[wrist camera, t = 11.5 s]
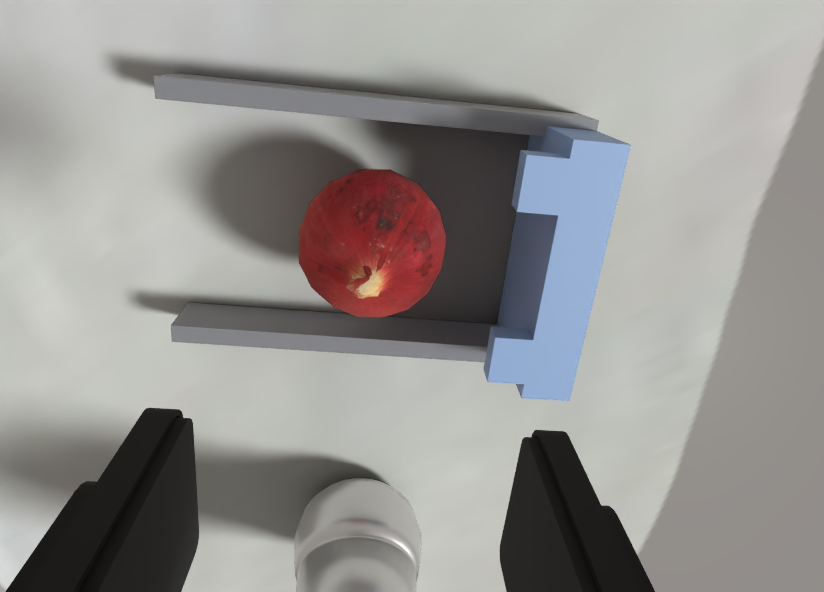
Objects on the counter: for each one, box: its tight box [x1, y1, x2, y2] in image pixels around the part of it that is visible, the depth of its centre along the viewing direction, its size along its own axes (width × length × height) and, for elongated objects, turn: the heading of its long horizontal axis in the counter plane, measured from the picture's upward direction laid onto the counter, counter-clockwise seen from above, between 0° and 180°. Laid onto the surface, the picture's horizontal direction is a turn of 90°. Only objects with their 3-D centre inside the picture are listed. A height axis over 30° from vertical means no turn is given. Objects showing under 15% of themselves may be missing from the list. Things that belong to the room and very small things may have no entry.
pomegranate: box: [299, 169, 446, 317], centre depth 23 cm, size 6×6×8 cm
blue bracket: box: [484, 126, 631, 401], centre depth 25 cm, size 10×4×6 cm, turn 174°
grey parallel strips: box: [154, 73, 599, 362], centre depth 24 cm, size 21×17×2 cm
